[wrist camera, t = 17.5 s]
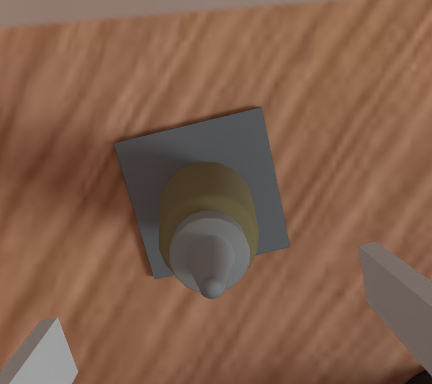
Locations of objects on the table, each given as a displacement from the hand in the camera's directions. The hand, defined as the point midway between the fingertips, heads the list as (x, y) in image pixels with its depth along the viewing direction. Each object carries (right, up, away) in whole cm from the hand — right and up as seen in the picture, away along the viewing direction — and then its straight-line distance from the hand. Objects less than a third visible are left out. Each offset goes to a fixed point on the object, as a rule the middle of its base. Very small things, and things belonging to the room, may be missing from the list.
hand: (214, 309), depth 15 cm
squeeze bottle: (-1, +5, +19) cm, 20 cm away
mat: (-1, +5, +20) cm, 20 cm away
